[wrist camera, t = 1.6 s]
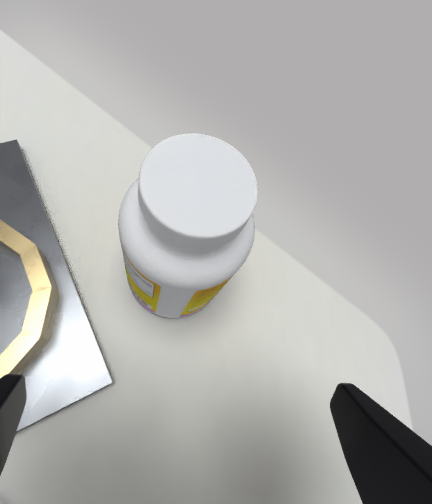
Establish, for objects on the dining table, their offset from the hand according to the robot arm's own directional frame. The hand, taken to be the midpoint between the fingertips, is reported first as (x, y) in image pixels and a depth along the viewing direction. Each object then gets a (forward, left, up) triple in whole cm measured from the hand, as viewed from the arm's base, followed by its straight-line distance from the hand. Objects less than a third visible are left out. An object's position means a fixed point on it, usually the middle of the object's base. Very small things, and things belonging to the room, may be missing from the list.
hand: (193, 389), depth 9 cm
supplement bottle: (+6, -4, -14) cm, 15 cm away
